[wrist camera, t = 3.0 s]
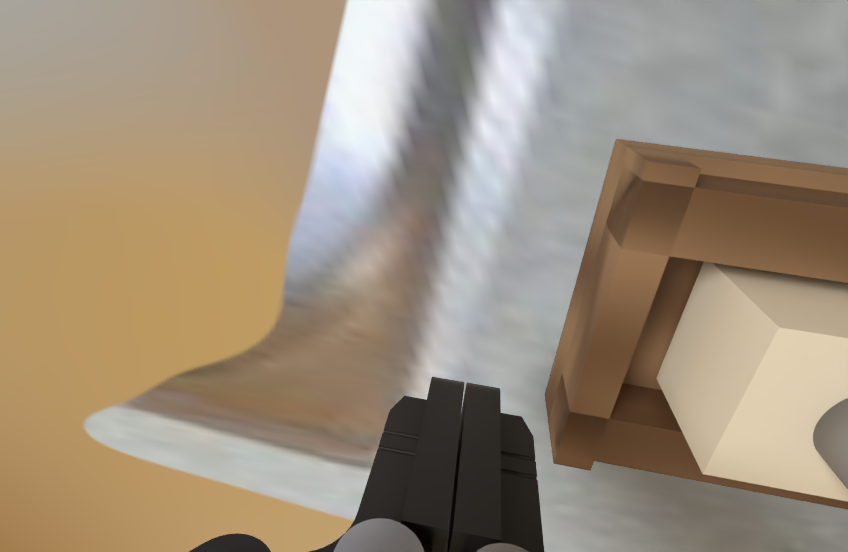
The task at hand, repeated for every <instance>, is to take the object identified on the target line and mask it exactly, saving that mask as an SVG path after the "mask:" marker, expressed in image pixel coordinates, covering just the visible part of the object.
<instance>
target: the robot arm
mask: <svg viewBox="0 0 848 552" xmlns="http://www.w3.org/2000/svg"><path fill="white" fill-rule="evenodd" d="M463 390H464V382H459V381H454V380H448V379H442V378H437V377H432V379H431V384H430V388H429V393H428V398H427V400H424V399H419V398H413V397H408V396H404V397H403V398H402V399H401V400H400V401H399V402H398V403H397V404H396V405H395V406H394V407H393V408H392V409H391V410H390V412H389V415H388V418H387V421H386V425H385V428H384V432H383V434H382V437H381V440H380V444H379V448H378V450H377V453H376V456H375V459H374V463H373V466H372V469H371V472H370V475H369V479H368V482H367V485H366V488H365V491H364V494H363V498H362V501H361V504H360V507H359V510H358V513H357V516H356V518H355V520H354V522H353V524H352V525H351V527H350V528H349V529H348V530H347V531H346V533H345V534H343V535H342V536H341V537H340V538H339V539H338V540H336V541H335V542H333V543H332V544H330V545H328V546H326V547H324V548H321V549H318V550H315V551H310V552H544V545H543V534H542V524H541V514H540V503H539V493H538V482H537V480H536V477H537V472H536V462H535V451H534V440H533V435H532V434H531V432H530V430H529V429H528V427H527V425H526V423H525V422H524V420H523V418H522V417H520V416H515V415H509V414H503V413H500V388H495V387H489V386H483V385H478V384H472V383H467V384H466V389H465V395H464V401H463V406H462V400H463ZM461 409H462V412H461ZM190 552H271V551H270V550H269V548H268V547H267V546H266V545H265V544H264V543H263V542H262V541H261V540H259V539H257V538H255V537H253V536H250V535H246V534H228V535H223V536H219V537H217V538H214V539H211V540H209V541H207V542H205V543H203V544H201V545H200V546H198V547H196V548H195V549H193V550H191V551H190Z"/></svg>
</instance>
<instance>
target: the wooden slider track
mask: <svg viewBox="0 0 848 552" xmlns="http://www.w3.org/2000/svg"><path fill="white" fill-rule="evenodd" d="M703 262H711V263H717V264H724V265H731V266H738V267H744V268H751V269H758V270H764V271H771V272H778V273H785V274H791V275H798V276H805V277H811V278H818V279H825V280H832V281H838V282H845V283H848V169H847V168H839V167H831V166H824V165H816V164H808V163H800V162H792V161H784V160H776V159H769V158H761V157H753V156H745V155H737V154H729V153H722V152H714V151H706V150H698V149H690V148H682V147H674V146H667V145H659V144H651V143H643V142H635V141H627V140H619V139H616V141H615V145H614V148H613V152H612V156H611V159H610V163H609V166H608V170H607V174H606V177H605V181H604V184H603V188H602V192H601V195H600V199H599V202H598V206H597V209H596V213H595V217H594V220H593V224H592V227H591V231H590V235H589V238H588V242H587V245H586V249H585V252H584V256H583V260H582V263H581V267H580V270H579V274H578V278H577V281H576V285H575V288H574V292H573V296H572V299H571V303H570V306H569V310H568V313H567V317H566V321H565V324H564V328H563V331H562V335H561V339H560V342H559V346H558V349H557V353H556V357H555V360H554V364H553V367H552V371H551V374H550V378H549V382H548V385H547V389H546V392H545V400H546V408H547V415H548V423H549V431H550V439H551V447H552V454H553V462H554V464H559V465H564V466H570V467H575V468H580V469H585V470H591V467H592V465H593V462H594V461H598V462H603V463H608V464H613V465H619V466H624V467H629V468H634V469H640V470H645V471H650V472H655V473H660V474H666V475H671V476H676V477H681V478H687V479H692V480H697V481H702V482H707V483H713V484H718V485H723V486H728V487H734V488H739V489H744V490H749V491H754V492H760V493H765V494H770V495H775V496H780V497H786V498H791V499H796V500H801V501H807V502H812V503H817V504H822V505H827V506H833V507H838V508H843V509H848V502H847V501H842V500H837V499H832V498H826V497H821V496H816V495H810V494H805V493H800V492H795V491H789V490H784V489H779V488H774V487H768V486H763V485H758V484H753V483H747V482H742V481H737V480H732V479H726V478H721V477H716V476H711V475H705V474H702V472H701V470H700V468H699V465H698V463H697V461H696V459H695V457H694V455H693V453H692V451H691V449H690V447H689V445H688V443H687V441H686V439H685V437H684V435H683V432H682V430H681V428H680V426H679V424H678V422H677V420H676V418H675V416H674V414H673V412H672V410H671V408H670V406H669V404H668V401H667V399H666V397H665V395H664V393H663V391H662V389H661V387H660V385H659V383H658V381H657V379H656V378H657V375H658V373H659V370H660V368H661V365H662V363H663V360H664V358H665V355H666V353H667V351H668V348H669V346H670V343H671V341H672V338H673V336H674V333H675V331H676V328H677V326H678V324H679V321H680V319H681V316H682V314H683V311H684V309H685V306H686V304H687V301H688V299H689V296H690V294H691V292H692V289H693V287H694V284H695V282H696V279H697V277H698V274H699V272H700V269H701V267H702V265H703Z"/></svg>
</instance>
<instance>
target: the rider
mask: <svg viewBox="0 0 848 552" xmlns="http://www.w3.org/2000/svg"><path fill="white" fill-rule="evenodd" d="M656 379H657V381H658V383H659V385H660V387H661V389H662V391H663V393H664V395H665V397H666V399H667V401H668V404H669V406H670V408H671V410H672V412H673V414H674V416H675V418H676V420H677V422H678V424H679V426H680V428H681V430H682V432H683V435H684V437H685V439H686V441H687V443H688V445H689V447H690V449H691V451H692V453H693V455H694V457H695V459H696V461H697V463H698V465H699V468H700V470H701V472H702V474H705V475H711V476H716V477H721V478H726V479H732V480H737V481H742V482H747V483H753V484H758V485H763V486H768V487H774V488H779V489H784V490H789V491H795V492H800V493H805V494H810V495H816V496H821V497H826V498H832V499H837V500H842V501H847V502H848V283H845V282H838V281H832V280H825V279H818V278H811V277H805V276H798V275H791V274H785V273H778V272H771V271H764V270H758V269H751V268H744V267H738V266H731V265H724V264H717V263H711V262H703V265H702V267H701V269H700V272H699V274H698V277H697V279H696V282H695V284H694V287H693V289H692V292H691V294H690V296H689V299H688V301H687V304H686V306H685V309H684V311H683V314H682V316H681V319H680V321H679V324H678V326H677V328H676V331H675V333H674V336H673V338H672V341H671V343H670V346H669V348H668V351H667V353H666V355H665V358H664V360H663V363H662V365H661V368H660V370H659V373H658V375H657V378H656Z"/></svg>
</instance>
